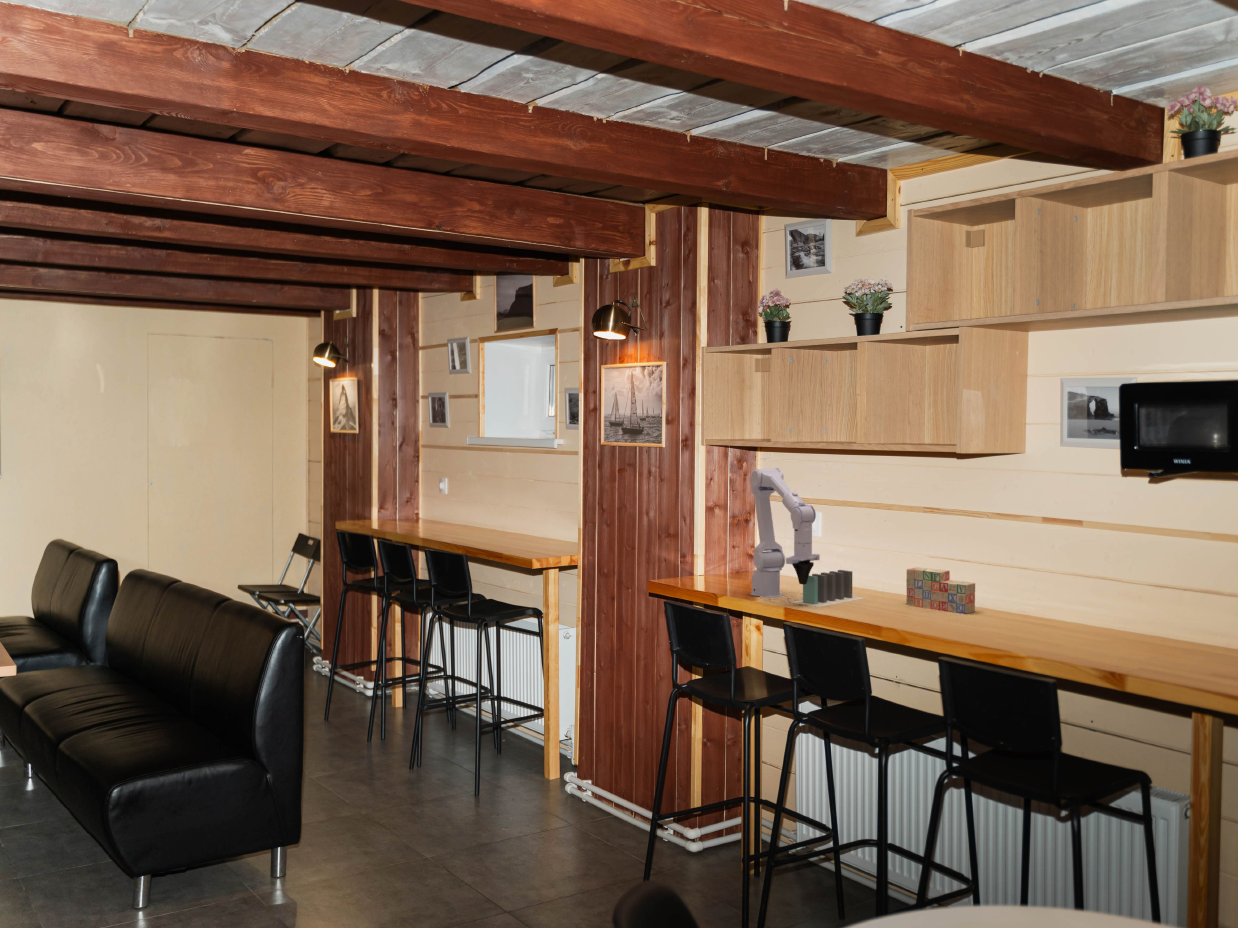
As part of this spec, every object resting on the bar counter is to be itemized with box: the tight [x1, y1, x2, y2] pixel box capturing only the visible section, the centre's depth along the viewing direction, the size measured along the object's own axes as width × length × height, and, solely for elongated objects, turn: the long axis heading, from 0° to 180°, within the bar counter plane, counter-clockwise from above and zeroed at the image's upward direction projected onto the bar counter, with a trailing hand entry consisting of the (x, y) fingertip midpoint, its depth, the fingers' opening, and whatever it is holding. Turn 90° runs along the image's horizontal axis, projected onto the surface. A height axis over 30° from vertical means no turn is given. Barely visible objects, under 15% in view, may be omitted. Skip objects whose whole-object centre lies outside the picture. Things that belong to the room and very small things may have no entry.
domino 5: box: [837, 569, 853, 598], centre depth 362 cm, size 2×5×9 cm, turn 40°
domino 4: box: [828, 570, 844, 600], centre depth 359 cm, size 2×5×9 cm, turn 40°
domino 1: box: [802, 574, 818, 604], centre depth 351 cm, size 2×5×9 cm, turn 39°
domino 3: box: [820, 572, 836, 601], centre depth 357 cm, size 2×5×9 cm, turn 40°
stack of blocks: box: [906, 567, 976, 615], centre depth 343 cm, size 21×6×12 cm, turn 42°
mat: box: [790, 595, 865, 608], centre depth 357 cm, size 12×25×1 cm, turn 130°
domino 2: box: [811, 573, 827, 603], centre depth 354 cm, size 2×5×9 cm, turn 40°
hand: (802, 583), depth 348 cm, fingers closed
